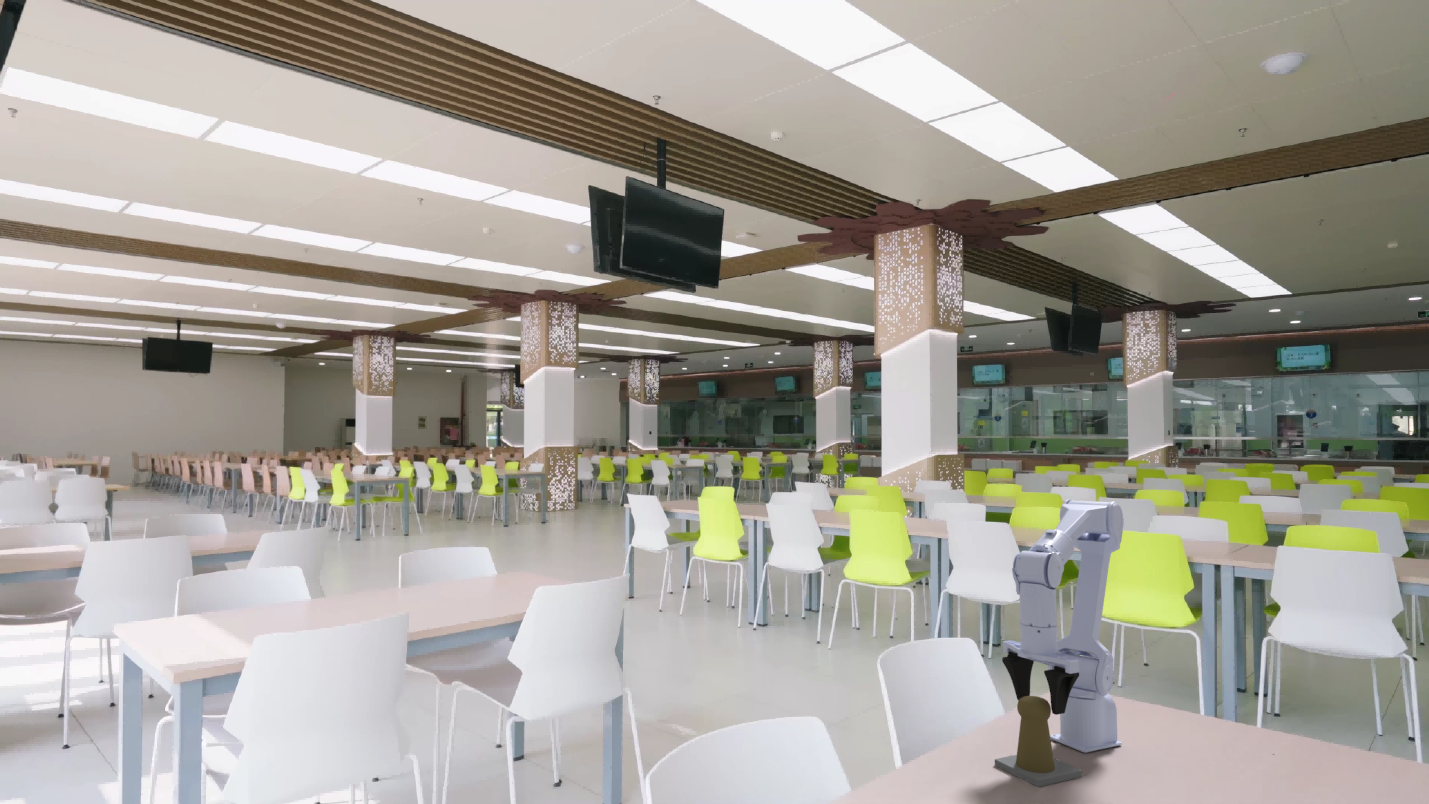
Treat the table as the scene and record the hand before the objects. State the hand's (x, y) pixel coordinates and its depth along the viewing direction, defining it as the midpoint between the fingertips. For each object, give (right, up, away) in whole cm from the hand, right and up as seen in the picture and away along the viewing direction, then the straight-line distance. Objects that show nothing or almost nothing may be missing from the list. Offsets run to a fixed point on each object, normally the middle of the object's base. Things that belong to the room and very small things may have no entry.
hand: (1040, 706), depth 135 cm
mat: (-1, -10, -1) cm, 10 cm away
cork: (-1, -10, -1) cm, 10 cm away
